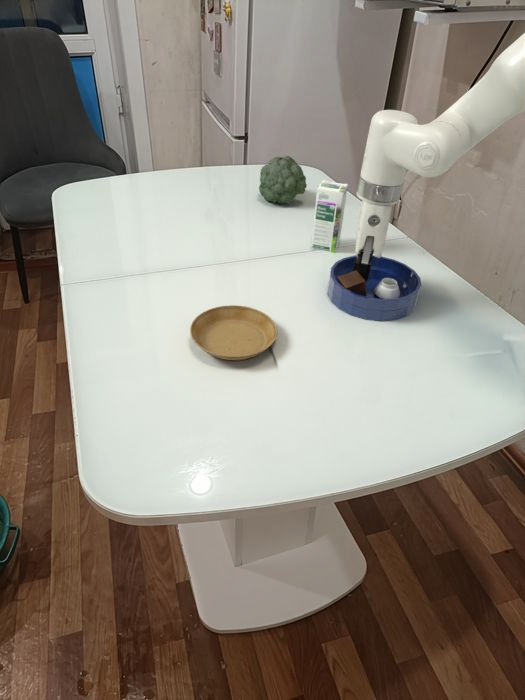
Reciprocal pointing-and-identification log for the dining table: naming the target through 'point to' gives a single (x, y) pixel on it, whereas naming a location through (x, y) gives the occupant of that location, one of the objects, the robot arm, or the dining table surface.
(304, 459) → the dining table surface
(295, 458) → the dining table surface
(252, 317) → the plant saucer
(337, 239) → the syrup box
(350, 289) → the walnut block
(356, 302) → the bowl
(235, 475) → the dining table surface
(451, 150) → the robot arm
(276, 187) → the vegetable
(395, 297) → the white jar
